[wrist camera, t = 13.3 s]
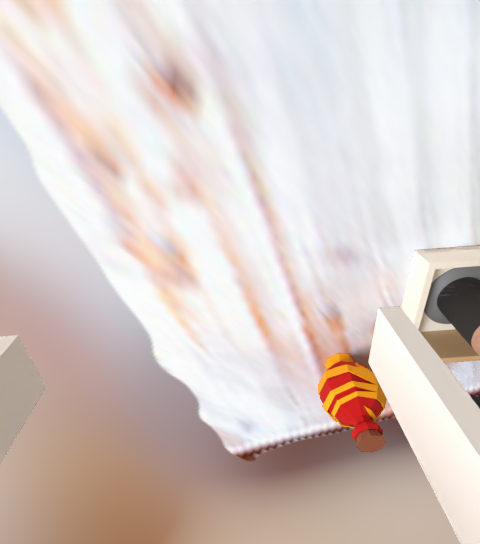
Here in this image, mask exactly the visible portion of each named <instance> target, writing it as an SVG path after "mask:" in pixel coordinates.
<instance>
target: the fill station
mask: <svg viewBox="0 0 480 544" xmlns="http://www.w3.org/2000/svg"><path fill="white" fill-rule="evenodd" d="M463 277H473V278H477V279H479V280H480V245H476V246H463V247H450V248H437V249H424V250H415V251H414V255H413V259H412V264H411V268H410V272H409V277H408V281H407V285H406V290H405V294H404V298H403V302H402V307H401V308H402V310H403V311H404V312H405V314H406V315H407V316H408V317H409V319H410V320H411V321H412V322H413V324H414V325H415V326H416V328H417V329H418V330H419V331H420V333H421V334H422V335H423V337H424V338H425V339H426V340H427V342H428V343H429V344H430V346H431V347H432V348H433V349H434V351H435V352H436V353H437V355H438V356H439V357H440V358H441V360H442V361H443V362H444V363H450V362H463V361H476V360H480V356H479V355H478V354H477V353H476V352H475V351H474V349H473V348H472V347H471V346H470V345H469V344H468V343H467V341H466V340H465V339H464V338H463V337H462V336H461V335H460V333H459V332H458V331H457V330H456V329H455V328H454V327H453V325H452V324H451V323H450V322H449V321H448V320H447V318H446V317H445V316H444V315H443V314H442V313H441V311H440V310H439V309H438V306H437V298H438V295H439V293H440V292H441V291H442V289H443V288H444V287H445V286H446V285H448V284H449V283H451V282H452V281H454V280H457V279H459V278H463Z"/></svg>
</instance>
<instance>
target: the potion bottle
mask: <svg viewBox="0 0 480 544" xmlns="http://www.w3.org/2000/svg"><path fill="white" fill-rule="evenodd" d="M325 368H326V369H327V371H325V372H324V374H323V376H322V378H321V380H320V382H319V384H318V393H319V395H320V399H321V401H322V402H323V406H322V407H323V408H324V409H325V411H326V412H327V413H328V414H329V415H330V417H331V418H332V419H333V420H334V421H336V422H338V423H339V424H340V425H341V426H345V427H351V428H354V429H353V431H352V437H353V438H354V439H355V440H356V441H357V448H358V449H359V450H360V451H361V452H374V451H377V450H379V449H382V448H383V446H384V445H385V443H386V440H385V439H384V438H383V437H382V436H381V435H382V434H383V430H382V429H381V428H380V426H379V425H378V424H377V423H376V422H375V421H376V419H377V418H378V417H379V415H380V414H381V412H382V411H383V410H384V408H385V404H386V400H387V398H386V396H385V394H384V392H383V390H382V388H381V386H380V384H379V382H378V380H377V378H376V376H375V374H374V373H373V372H372V371H371V370H369V369H368V368H367V367H366V366H364V365H362V364H360V363H357V362H356V363H354V360H353V359H352V357H351V356H350V355H349V354H342V353H337V354H335V355H333V356H331V357H329V358H328V359H327V362H326V364H325ZM334 418H335V419H334Z"/></svg>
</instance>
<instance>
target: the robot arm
mask: <svg viewBox="0 0 480 544" xmlns="http://www.w3.org/2000/svg"><path fill="white" fill-rule="evenodd" d="M368 363H369V365H370V367H371V369H372V371H373V373H374V374H375V376H376V378H377V380H378V382H379V384H380V386H381V388H382V390H383V392H384V394H385V396H386V398H387V400H388V402H389V404H390V406H391V408H392V410H393V412H394V414H395V416H396V418H397V420H398V422H399V424H400V426H401V428H402V429H403V431H404V433H405V435H406V437H407V439H408V441H409V443H410V445H411V447H412V449H413V451H414V453H415V455H416V457H417V459H418V461H419V463H420V465H421V467H422V469H423V471H424V473H425V475H426V477H427V479H428V480H429V483H430V484H431V487H432V489H433V491H434V492H435V494H436V496H437V498H438V500H439V502H440V504H441V506H442V508H443V510H444V512H445V514H446V516H447V518H448V520H449V522H450V524H451V526H452V528H453V530H454V532H455V533H456V536H457V538H458V539H459V541H460V544H480V397H470V396H469V394H468V393H467V392H466V390H465V389H464V388H463V387H462V385H461V384H460V383H459V381H458V380H457V379H456V378H455V376H454V375H453V374H452V372H451V371H450V370H449V369H448V367H447V366H446V365H445V364H444V362H443V361H442V360H441V358H440V357H439V356H438V355H437V353H436V352H435V351H434V349H433V348H432V347H431V346H430V344H429V343H428V342H427V340H426V339H425V338H424V337H423V335H422V334H421V333H420V331H419V330H418V329H417V328H416V326H415V325H414V324H413V322H412V321H411V320H410V319H409V317H408V316H407V315H406V314H405V312H404V311H403V310H402V308H401V307H400V306H394V307H381V308H378V313H377V319H376V324H375V329H374V335H373V340H372V345H371V351H370V356H369V361H368ZM46 387H47V386H46V385H45V383H44V381H43V379H42V377H41V375H40V374H39V372H38V370H37V368H36V366H35V365H34V363H33V361H32V359H31V357H30V356H29V354H28V352H27V350H26V348H25V347H24V345H23V343H22V341H21V339H20V338H19V336H18V335H16V336H1V337H0V464H1V462H2V460H3V459H4V457H5V455H6V454H7V452H8V450H9V449H10V447H11V445H12V444H13V442H14V440H15V439H16V437H17V435H18V434H19V432H20V430H21V429H22V427H23V425H24V423H25V422H26V420H27V419H28V417H29V415H30V414H31V412H32V410H33V409H34V407H35V405H36V404H37V402H38V400H39V399H40V397H41V395H42V394H43V392H44V390H45V389H46Z"/></svg>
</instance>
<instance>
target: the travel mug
mask: <svg viewBox="0 0 480 544" xmlns="http://www.w3.org/2000/svg"><path fill="white" fill-rule="evenodd" d="M437 306H438V309H439V310H440V311H441V313H442V314H443V315H444V316H445V317H446V318H447V320H448V321H449V322H450V323H451V324H452V325H453V327H454V328H455V329H456V330H457V331H458V332H459V333H460V335H461V336H462V337H463V338H464V339H465V340H466V341H467V343H468V344H469V345H470V346H471V347H472V348H473V349H474V351H475V352H476V353H477V354H478V355H479V356H480V280H479V279H477V278H473V277H463V278H459V279H457V280H454V281H452V282H451V283H449V284H448V285H446V286H445V287H444V288H443V289H442V291H441V292H440V293H439V295H438V298H437Z"/></svg>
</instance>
